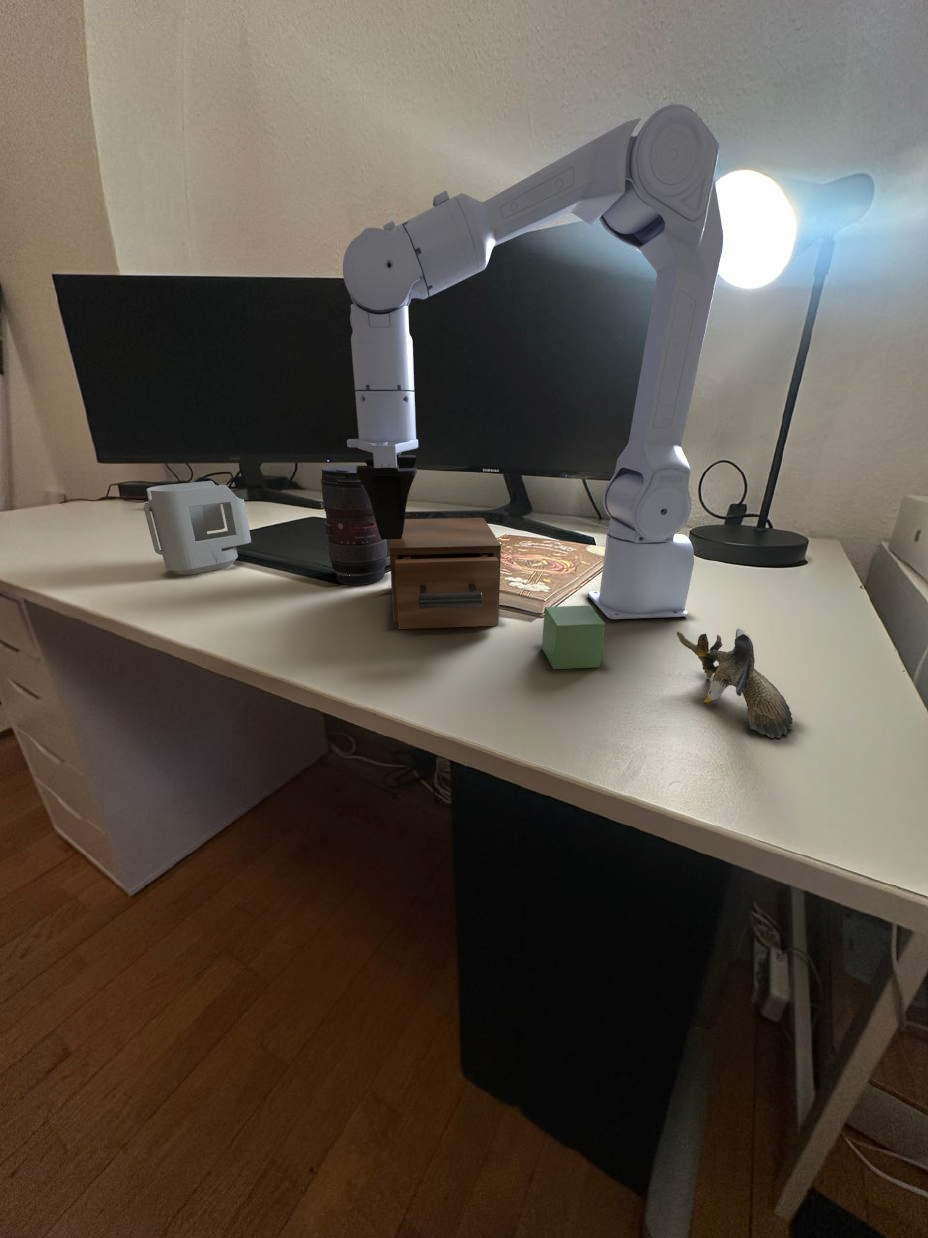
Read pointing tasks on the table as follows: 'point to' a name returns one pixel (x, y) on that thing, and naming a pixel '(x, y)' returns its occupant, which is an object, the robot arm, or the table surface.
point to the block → (572, 637)
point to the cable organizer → (196, 526)
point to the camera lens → (351, 527)
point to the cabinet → (443, 544)
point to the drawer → (446, 590)
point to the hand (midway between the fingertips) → (392, 529)
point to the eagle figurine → (743, 682)
